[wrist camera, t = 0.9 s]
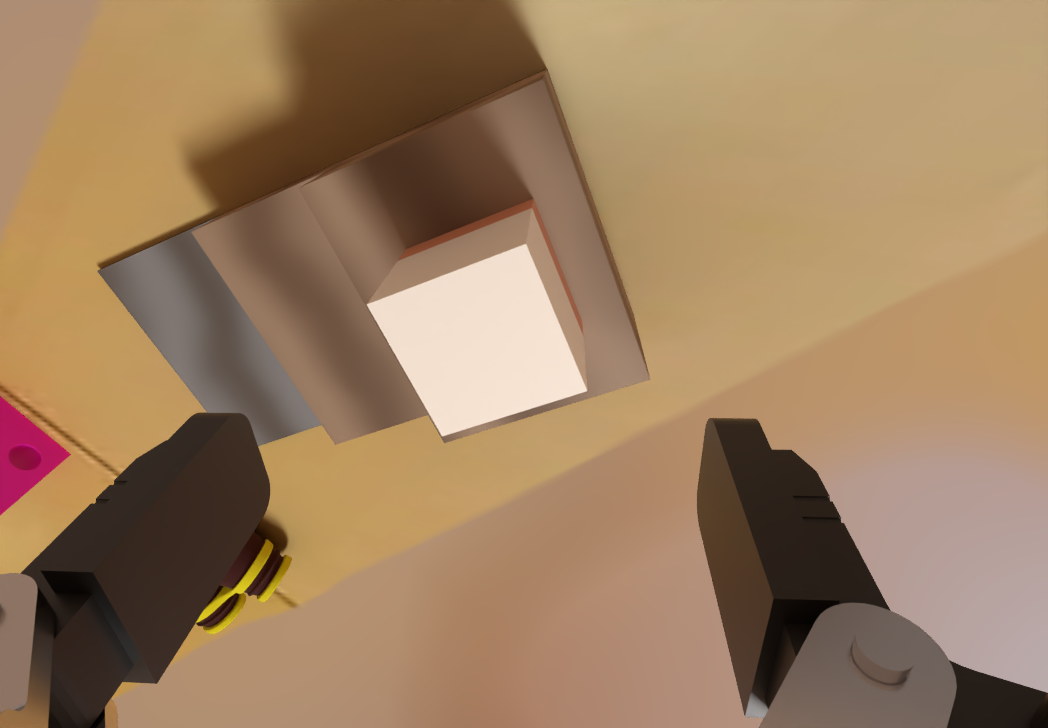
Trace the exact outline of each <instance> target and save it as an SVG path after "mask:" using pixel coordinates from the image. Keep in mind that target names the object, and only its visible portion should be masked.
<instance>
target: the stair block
mask: <svg viewBox="0 0 1048 728" xmlns="http://www.w3.org/2000/svg"><path fill="white" fill-rule="evenodd" d="M531 199H534V201H535V204H536V206H537V209H538V211H539V214H540V216H541V219H542V221H543V224H544V226H545V229H546V231H547V234H548V236H549V239H550V241H551V244H552V246H553V249H554V252H555V254H556V257H557V259H558V262H559V264H560V267H561V269H562V272H563V274H564V277H565V279H566V282H567V284H568V287H569V289H570V292H571V294H572V297H573V300H574V302H575V305H576V307H577V310H578V312H579V315H580V317H581V320H582V324H583V338H584V351H585V365H586V379H587V391H586V392H583V393H580V394H577V395H573V396H570V397H567V398H564V399H561V400H557V401H554V402H551V403H548V404H545V405H541V406H538V407H535V408H532V409H529V410H525V411H522V412H519V413H516V414H513V415H509V416H506V417H503V418H500V419H497V420H493V421H490V422H487V423H484V424H481V425H477V426H474V427H471V428H468V429H465V430H461V431H458V432H455V433H452V434H449V435H445V436H441V434H440V432H439V430H438V429H437V427H436V425H435V423H434V422H433V420H432V418H431V416H430V415H429V413H428V411H427V409H426V408H425V406H424V404H423V402H422V401H421V399H420V397H419V395H418V394H417V392H416V390H415V388H414V387H413V385H412V383H411V381H410V380H409V378H408V376H407V374H406V373H405V371H404V369H403V367H402V366H401V364H400V362H399V360H398V359H397V357H396V355H395V353H394V352H393V350H392V348H391V346H390V345H389V343H388V341H387V339H386V338H385V336H384V334H383V332H382V331H381V329H380V327H379V325H378V324H377V322H376V320H375V318H374V317H373V315H372V313H371V311H370V310H369V308H368V306H367V303H368V302H369V300H370V299H371V298H372V296H373V295H374V293H375V292H376V291H377V289H378V288H379V286H380V285H381V284H382V282H383V281H384V279H385V278H386V276H387V275H388V274H389V272H390V271H391V269H392V268H393V267H394V265H395V264H396V262H397V261H398V260H399V258H400V257H401V255H402V254H403V253H404V251H405V250H406V249H408V248H411V247H413V246H416V245H418V244H421V243H423V242H426V241H428V240H431V239H433V238H436V237H438V236H441V235H443V234H446V233H448V232H451V231H453V230H456V229H458V228H461V227H463V226H466V225H468V224H471V223H473V222H476V221H478V220H481V219H483V218H486V217H488V216H491V215H493V214H496V213H498V212H501V211H503V210H506V209H508V208H511V207H513V206H516V205H518V204H521V203H523V202H526V201H528V200H531ZM98 273H99V274H100V275H101V276H102V278H103V279H104V280H105V282H106V283H107V284H108V285H109V287H110V288H111V289H112V291H113V292H114V293H115V294H116V296H117V297H118V298H119V300H120V301H121V302H122V303H123V305H124V306H125V307H126V309H127V310H128V311H129V312H130V314H131V315H132V316H133V318H134V319H135V320H136V321H137V323H138V324H139V325H140V327H141V328H142V329H143V330H144V332H145V333H146V334H147V336H148V337H149V338H150V339H151V341H152V342H153V343H154V345H155V346H156V347H157V348H158V350H159V351H160V352H161V354H162V355H163V356H164V357H165V359H166V360H167V361H168V363H169V364H170V365H171V366H172V368H173V369H174V370H175V372H176V373H177V374H178V375H179V377H180V378H181V379H182V381H183V382H184V383H185V384H186V386H187V387H188V388H189V390H190V391H191V392H192V393H193V395H194V396H195V397H196V399H197V400H198V401H199V402H200V404H201V405H202V406H203V408H204V409H205V410H206V411H207V413H241V414H244V415H245V416H246V417H247V418H248V420H249V421H250V424H251V427H252V430H253V433H254V436H255V439H256V442H257V445H258V446H260V445H263V444H266V443H269V442H272V441H275V440H278V439H281V438H284V437H287V436H290V435H293V434H296V433H299V432H302V431H305V430H308V429H311V428H314V427H317V426H320V425H322V426H323V427H324V429H325V430H326V432H327V433H328V435H329V436H330V438H331V439H332V440H333V442H334V443H335V445H336V444H339V443H342V442H345V441H348V440H351V439H355V438H358V437H361V436H364V435H367V434H370V433H373V432H376V431H379V430H382V429H385V428H389V427H392V426H395V425H398V424H401V423H404V422H407V421H410V420H413V419H416V418H420V417H423V416H426V415H429V417H430V419H431V421H432V422H433V424H434V426H435V428H436V429H437V431H438V433H439V435H440V436H441V438H442V440H443V442H444V443H446V442H449V441H453V440H456V439H459V438H462V437H465V436H469V435H472V434H475V433H478V432H482V431H485V430H488V429H491V428H495V427H498V426H501V425H504V424H508V423H511V422H514V421H517V420H521V419H524V418H527V417H530V416H533V415H537V414H540V413H543V412H546V411H550V410H553V409H556V408H559V407H563V406H566V405H569V404H572V403H576V402H579V401H582V400H585V399H588V398H592V397H595V396H598V395H601V394H605V393H608V392H611V391H614V390H618V389H621V388H624V387H627V386H631V385H634V384H637V383H640V382H643V381H647V380H650V377H649V373H648V369H647V365H646V361H645V357H644V353H643V349H642V346H641V342H640V338H639V334H638V330H637V326H636V322H635V318H634V315H633V312H632V309H631V307H630V304H629V301H628V298H627V295H626V292H625V289H624V287H623V284H622V281H621V278H620V275H619V272H618V270H617V267H616V264H615V261H614V258H613V255H612V252H611V250H610V247H609V244H608V241H607V238H606V235H605V232H604V230H603V227H602V224H601V221H600V218H599V215H598V212H597V210H596V207H595V204H594V201H593V198H592V195H591V192H590V190H589V187H588V184H587V181H586V178H585V175H584V172H583V170H582V167H581V164H580V161H579V158H578V155H577V152H576V150H575V147H574V144H573V141H572V138H571V135H570V132H569V130H568V127H567V124H566V121H565V118H564V115H563V112H562V110H561V107H560V104H559V101H558V98H557V95H556V93H555V90H554V87H553V84H552V81H551V78H550V75H549V73H548V70H547V69H545V70H543V71H541V72H538V73H536V74H534V75H532V76H530V77H527V78H525V79H523V80H521V81H518V82H516V83H514V84H512V85H510V86H507V87H505V88H503V89H501V90H498V91H496V92H494V93H492V94H490V95H487V96H485V97H483V98H481V99H478V100H476V101H474V102H472V103H470V104H467V105H465V106H463V107H461V108H458V109H456V110H454V111H452V112H449V113H447V114H445V115H443V116H441V117H438V118H436V119H434V120H432V121H429V122H427V123H425V124H423V125H421V126H418V127H416V128H414V129H412V130H409V131H407V132H405V133H403V134H401V135H398V136H396V137H394V138H392V139H389V140H387V141H385V142H383V143H381V144H378V145H376V146H374V147H372V148H369V149H367V150H365V151H363V152H361V153H358V154H356V155H354V156H352V157H349V158H347V159H345V160H343V161H341V162H338V163H336V164H334V165H332V166H329V167H327V168H325V169H323V170H320V171H318V172H316V173H314V174H312V175H309V176H307V177H305V178H303V179H300V180H298V181H296V182H294V183H292V184H289V185H287V186H285V187H283V188H280V189H278V190H276V191H274V192H272V193H269V194H267V195H265V196H263V197H260V198H258V199H256V200H254V201H252V202H249V203H247V204H245V205H243V206H240V207H238V208H236V209H234V210H232V211H229V212H227V213H225V214H223V215H220V216H218V217H216V218H214V219H212V220H209V221H207V222H205V223H203V224H200V225H198V226H196V227H194V228H192V229H189V230H187V231H185V232H183V233H180V234H178V235H176V236H174V237H171V238H169V239H167V240H165V241H163V242H160V243H158V244H156V245H154V246H151V247H149V248H147V249H145V250H143V251H140V252H138V253H136V254H134V255H131V256H129V257H127V258H125V259H123V260H120V261H118V262H116V263H114V264H111V265H109V266H107V267H105V268H103V269H100V270H98Z"/></svg>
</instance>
